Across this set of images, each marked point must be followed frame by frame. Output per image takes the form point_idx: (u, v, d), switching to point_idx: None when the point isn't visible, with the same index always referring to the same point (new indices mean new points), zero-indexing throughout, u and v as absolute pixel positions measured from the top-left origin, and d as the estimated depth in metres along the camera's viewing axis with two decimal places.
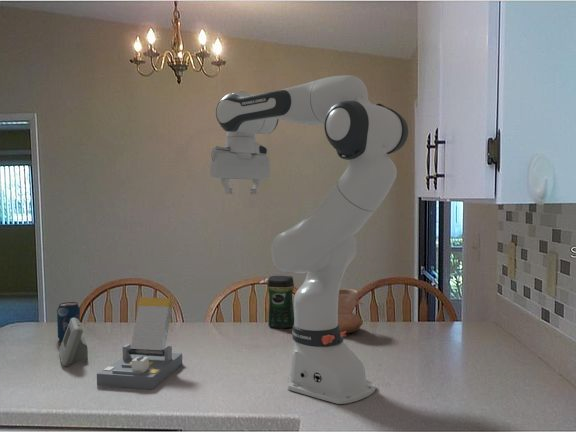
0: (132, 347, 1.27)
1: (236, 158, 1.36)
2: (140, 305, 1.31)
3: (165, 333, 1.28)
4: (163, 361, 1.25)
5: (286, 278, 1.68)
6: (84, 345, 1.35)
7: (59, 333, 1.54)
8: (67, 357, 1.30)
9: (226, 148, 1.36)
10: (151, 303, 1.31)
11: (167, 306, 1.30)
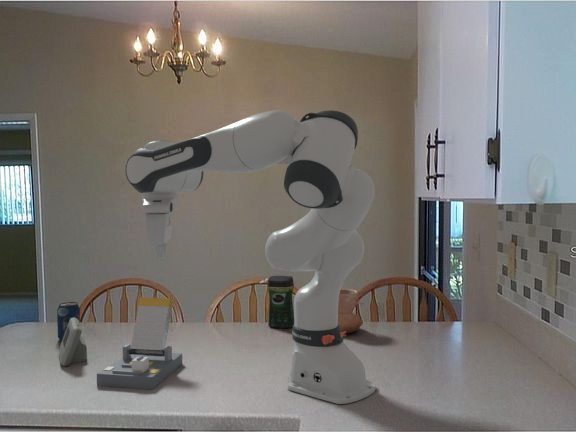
0: (132, 347, 1.27)
1: None
2: (140, 305, 1.31)
3: (165, 333, 1.28)
4: (163, 361, 1.25)
5: (286, 278, 1.68)
6: (83, 345, 1.35)
7: (59, 333, 1.54)
8: (66, 357, 1.30)
9: None
10: (151, 303, 1.31)
11: (167, 306, 1.30)
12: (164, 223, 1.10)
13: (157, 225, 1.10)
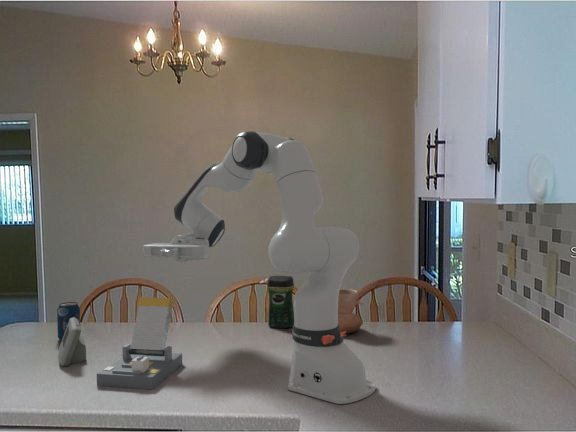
0: (132, 347, 1.27)
1: (170, 243, 1.48)
2: (140, 305, 1.31)
3: (165, 333, 1.28)
4: (163, 361, 1.25)
5: (286, 278, 1.68)
6: (82, 345, 1.35)
7: (59, 333, 1.54)
8: (65, 357, 1.30)
9: None
10: (151, 303, 1.31)
11: (167, 306, 1.30)
12: (207, 256, 1.45)
13: (207, 251, 1.45)
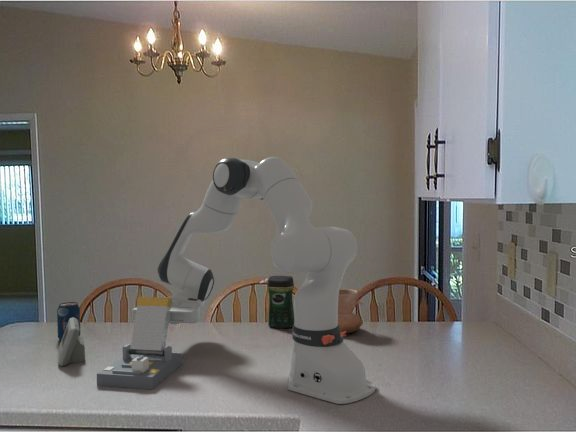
0: (132, 347, 1.27)
1: None
2: (138, 305, 1.30)
3: (164, 333, 1.27)
4: (163, 361, 1.25)
5: (286, 278, 1.68)
6: (81, 345, 1.35)
7: (59, 333, 1.54)
8: (63, 356, 1.30)
9: None
10: (149, 302, 1.30)
11: (166, 306, 1.29)
12: (199, 320, 1.39)
13: (199, 315, 1.38)
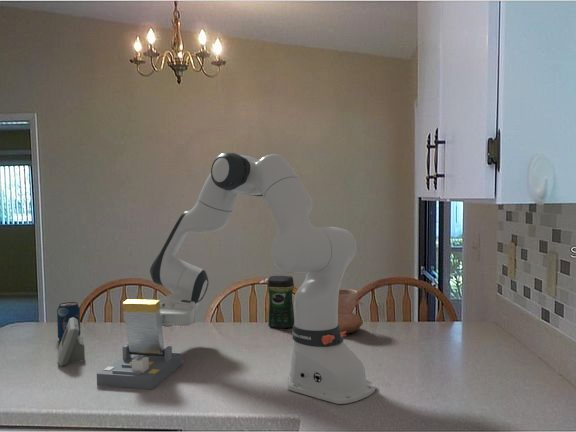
0: (131, 350, 1.26)
1: None
2: (126, 311, 1.24)
3: (160, 336, 1.25)
4: (163, 361, 1.25)
5: (286, 278, 1.68)
6: (81, 345, 1.35)
7: (59, 333, 1.54)
8: (63, 356, 1.30)
9: None
10: (136, 309, 1.23)
11: (154, 312, 1.22)
12: (193, 322, 1.34)
13: (192, 317, 1.34)
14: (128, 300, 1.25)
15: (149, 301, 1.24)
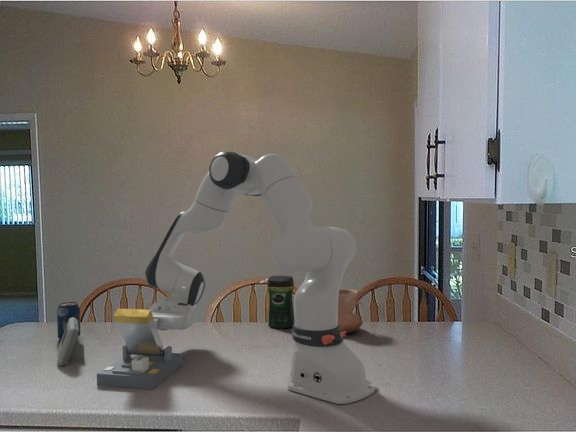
0: (131, 352, 1.26)
1: None
2: (118, 322, 1.20)
3: (157, 340, 1.23)
4: (163, 361, 1.25)
5: (286, 278, 1.68)
6: (80, 345, 1.35)
7: (59, 333, 1.54)
8: (63, 357, 1.30)
9: None
10: (128, 320, 1.19)
11: (147, 323, 1.19)
12: (189, 326, 1.32)
13: (189, 321, 1.31)
14: (118, 310, 1.20)
15: (140, 312, 1.19)
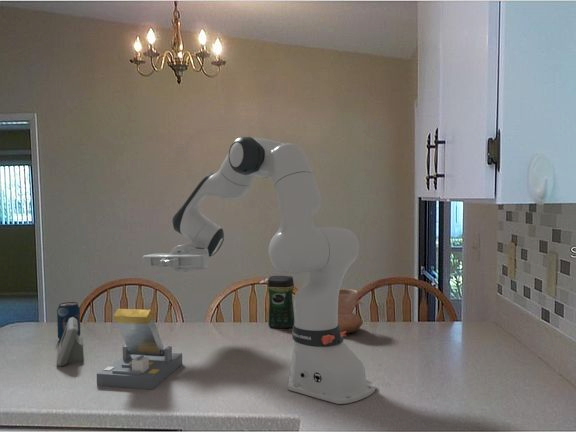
0: (131, 352, 1.26)
1: (170, 253, 1.48)
2: (118, 322, 1.20)
3: (157, 340, 1.23)
4: (163, 361, 1.25)
5: (286, 278, 1.68)
6: (80, 345, 1.35)
7: (59, 333, 1.54)
8: (62, 356, 1.30)
9: None
10: (128, 320, 1.19)
11: (147, 323, 1.19)
12: (207, 266, 1.45)
13: (206, 261, 1.45)
14: (118, 310, 1.20)
15: (140, 312, 1.19)
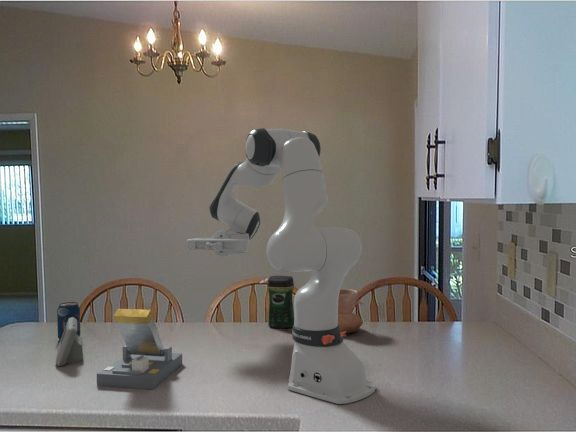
0: (131, 352, 1.26)
1: (212, 238, 1.54)
2: (118, 322, 1.20)
3: (157, 340, 1.23)
4: (163, 361, 1.25)
5: (286, 278, 1.68)
6: (79, 345, 1.35)
7: (59, 333, 1.54)
8: (61, 356, 1.30)
9: None
10: (128, 320, 1.19)
11: (147, 323, 1.19)
12: (248, 250, 1.51)
13: (248, 245, 1.50)
14: (118, 310, 1.20)
15: (140, 312, 1.19)
